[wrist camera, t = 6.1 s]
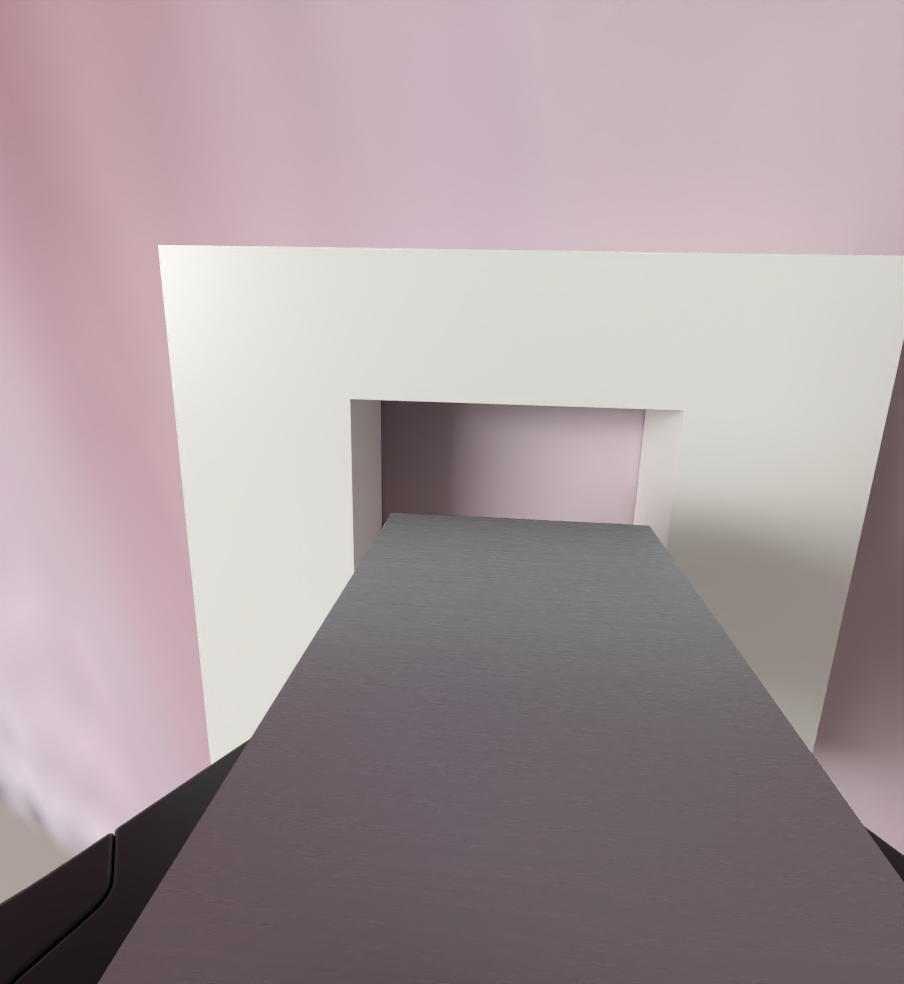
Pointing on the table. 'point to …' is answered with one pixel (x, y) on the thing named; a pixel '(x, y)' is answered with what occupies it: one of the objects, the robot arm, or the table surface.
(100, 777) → the table surface
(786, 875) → the dark grey square post
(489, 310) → the square frame
